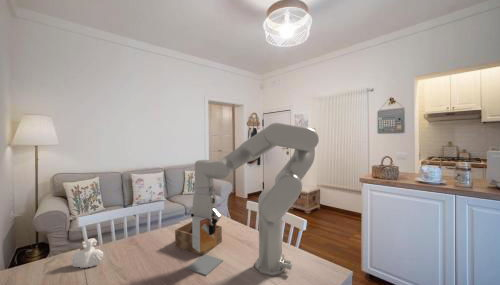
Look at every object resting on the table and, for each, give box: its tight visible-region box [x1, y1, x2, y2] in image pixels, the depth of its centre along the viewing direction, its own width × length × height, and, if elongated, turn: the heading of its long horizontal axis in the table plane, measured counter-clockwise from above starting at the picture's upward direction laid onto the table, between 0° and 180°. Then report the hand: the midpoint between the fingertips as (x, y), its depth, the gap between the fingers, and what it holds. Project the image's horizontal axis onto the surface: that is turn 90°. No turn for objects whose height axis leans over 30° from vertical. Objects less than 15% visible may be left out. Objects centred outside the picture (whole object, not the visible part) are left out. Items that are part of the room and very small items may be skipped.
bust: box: [71, 237, 104, 269], centre depth 92 cm, size 12×8×11 cm
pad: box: [186, 253, 224, 277], centre depth 90 cm, size 10×11×1 cm
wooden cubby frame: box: [174, 221, 223, 256], centre depth 107 cm, size 18×14×8 cm
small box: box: [191, 216, 217, 252], centre depth 89 cm, size 8×6×13 cm
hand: (204, 231), depth 89 cm, fingers closed on small box, 7 cm apart
